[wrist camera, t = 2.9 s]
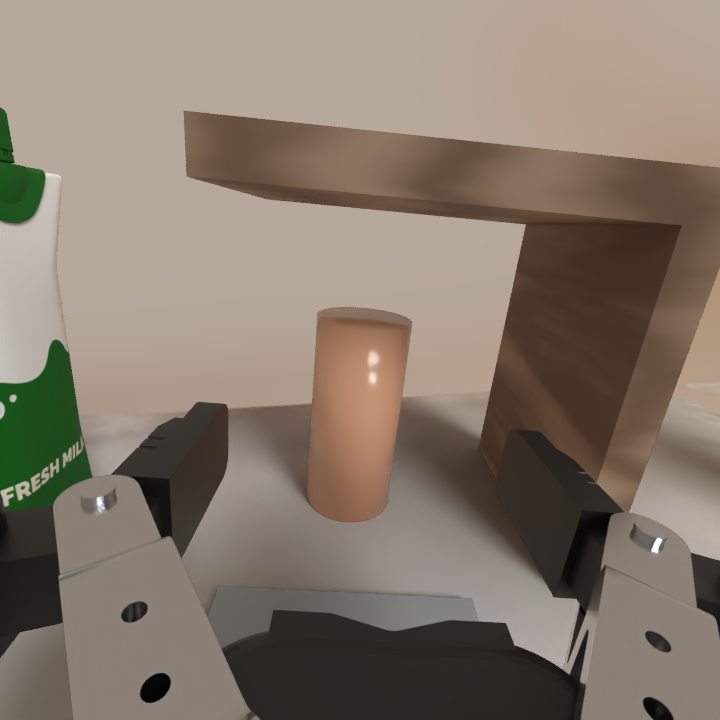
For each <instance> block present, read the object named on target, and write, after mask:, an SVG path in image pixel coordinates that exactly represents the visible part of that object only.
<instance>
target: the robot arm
mask: <svg viewBox="0 0 720 720" xmlns="http://www.w3.org/2000/svg"><path fill="white" fill-rule="evenodd" d="M227 461H228V408H227V405H226V404H218V403H205V402H197V403H196V404H195V405H194V406H193V408H192V409H191V410H190V411H189V412H188V413H187V414H186V415H185V416H184V418H173V419H171V420H169V421H168V422H166V423H164V424H162V425H160V426H158V427H157V428H156V429H155V430H154V431H153V432H152V433H151V434H150V435H149V436H148V439H145V440H144V441H143V442H142V443H141V445H140V446H139V448H137V449H136V450H135V451H134V452H133V453H132V454H131V455H130V456H129V457H128V458H127V459H126V460H125V461H124V462H123V463H122V464H121V465H120V466H119V467H118V468H117V469H116V470H115V471H114V472H113V473H112V474H111V475H105V476H99V477H94V478H90V479H87V480H84V481H81V482H79V483H77V484H75V485H73V486H71V487H69V488H68V489H66V490H65V491H64V492H62V493H61V494H60V495H59V496H58V497H57V499H56V500H55V502H54V504H53V505H52V506H45V507H38V508H30V509H22V510H14V511H7V512H5V508H4V503H3V498H2V496H1V495H0V658H1V656H2V655H3V654H4V652H5V651H6V650H7V649H8V647H9V646H10V645H11V643H12V642H13V641H14V639H15V638H16V637H17V635H18V634H19V632H23V631H28V630H32V629H37V628H41V627H46V626H51V625H55V624H60V623H63V626H64V636H65V646H66V655H67V665H68V675H69V684H70V694H71V704H72V713H73V720H720V561H719V560H715V559H711V558H708V557H704V556H701V555H697V554H693V553H691V552H690V549H689V547H688V545H687V544H686V543H685V542H684V540H683V539H682V538H680V537H679V536H678V535H677V534H676V533H675V532H673V531H672V530H670V529H669V528H667V527H666V526H664V525H662V524H660V523H658V522H656V521H654V520H652V519H650V518H647V517H644V516H641V515H637V514H633V513H626V512H624V511H623V510H622V509H621V508H620V507H619V506H618V504H617V503H616V502H615V501H614V500H613V499H612V498H611V497H610V496H609V495H608V494H607V493H606V492H605V491H604V490H603V489H602V488H601V487H600V486H599V485H598V484H596V483H595V481H594V480H593V479H592V478H591V477H590V476H589V474H586V471H585V470H584V469H583V468H582V467H581V466H580V465H579V464H578V463H577V462H576V461H575V460H574V459H572V458H570V457H569V456H567V455H566V454H564V453H563V452H561V451H559V450H558V449H556V448H555V447H554V446H553V445H552V443H551V442H550V441H549V440H548V439H547V438H546V437H545V436H544V435H543V434H542V433H541V432H540V431H533V430H521V429H511V430H510V431H509V433H508V435H507V438H506V442H505V446H504V450H503V454H502V458H501V462H500V467H499V471H498V475H497V492H498V496H499V498H500V500H501V502H502V504H503V506H504V508H505V509H506V511H507V513H508V515H509V517H510V518H511V520H512V522H513V524H514V526H515V528H516V529H517V531H518V533H519V535H520V537H521V538H522V540H523V542H524V544H525V546H526V548H527V549H528V551H529V553H530V555H531V557H532V558H533V560H534V562H535V564H536V566H537V568H538V569H539V571H540V573H541V575H542V577H543V578H544V580H545V582H546V584H547V586H548V588H549V589H550V591H551V593H552V595H553V597H556V598H572V599H577V600H578V602H579V603H580V604H579V607H578V610H577V612H576V615H575V619H574V623H573V628H572V632H571V636H570V640H569V645H568V649H567V653H566V658H565V662H564V666H563V669H561V668H559V667H558V666H556V665H555V664H553V663H552V662H550V661H548V660H546V659H545V658H543V657H541V656H539V655H537V654H535V653H533V652H530V651H528V650H526V649H523V648H521V647H518V646H514V643H513V640H512V638H511V635H510V633H509V630H508V628H507V625H506V623H495V622H478V621H461V620H447V621H442V622H437V623H432V624H428V625H423V626H418V627H413V628H408V629H404V630H399V631H390V630H385V629H382V628H379V627H376V626H372V625H369V624H366V623H363V622H359V621H356V620H353V619H350V618H346V617H343V616H340V615H337V614H333V613H323V612H306V611H289V610H273V613H272V618H271V623H270V628H269V631H265V632H260V633H257V634H254V635H250V636H247V637H244V638H242V639H240V640H237V641H235V642H233V643H231V644H229V645H227V646H225V647H223V648H222V649H221V647H220V645H219V643H218V640H217V638H216V636H215V634H214V631H213V629H212V627H211V625H210V622H209V620H208V618H207V616H206V613H205V611H204V609H203V607H202V604H201V602H200V600H199V598H198V595H197V593H196V591H195V589H194V586H193V584H192V582H191V580H190V577H189V575H188V573H187V571H186V568H185V566H184V564H183V562H182V559H181V558H182V556H183V554H184V553H185V551H186V549H187V547H188V545H189V543H190V541H191V539H192V537H193V535H194V533H195V531H196V529H197V527H198V525H199V523H200V521H201V520H202V518H203V516H204V514H205V512H206V510H207V508H208V506H209V504H210V502H211V500H212V498H213V496H214V494H215V492H216V490H217V488H218V487H219V485H220V483H221V481H222V479H223V477H224V474H225V471H226V467H227Z"/></svg>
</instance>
